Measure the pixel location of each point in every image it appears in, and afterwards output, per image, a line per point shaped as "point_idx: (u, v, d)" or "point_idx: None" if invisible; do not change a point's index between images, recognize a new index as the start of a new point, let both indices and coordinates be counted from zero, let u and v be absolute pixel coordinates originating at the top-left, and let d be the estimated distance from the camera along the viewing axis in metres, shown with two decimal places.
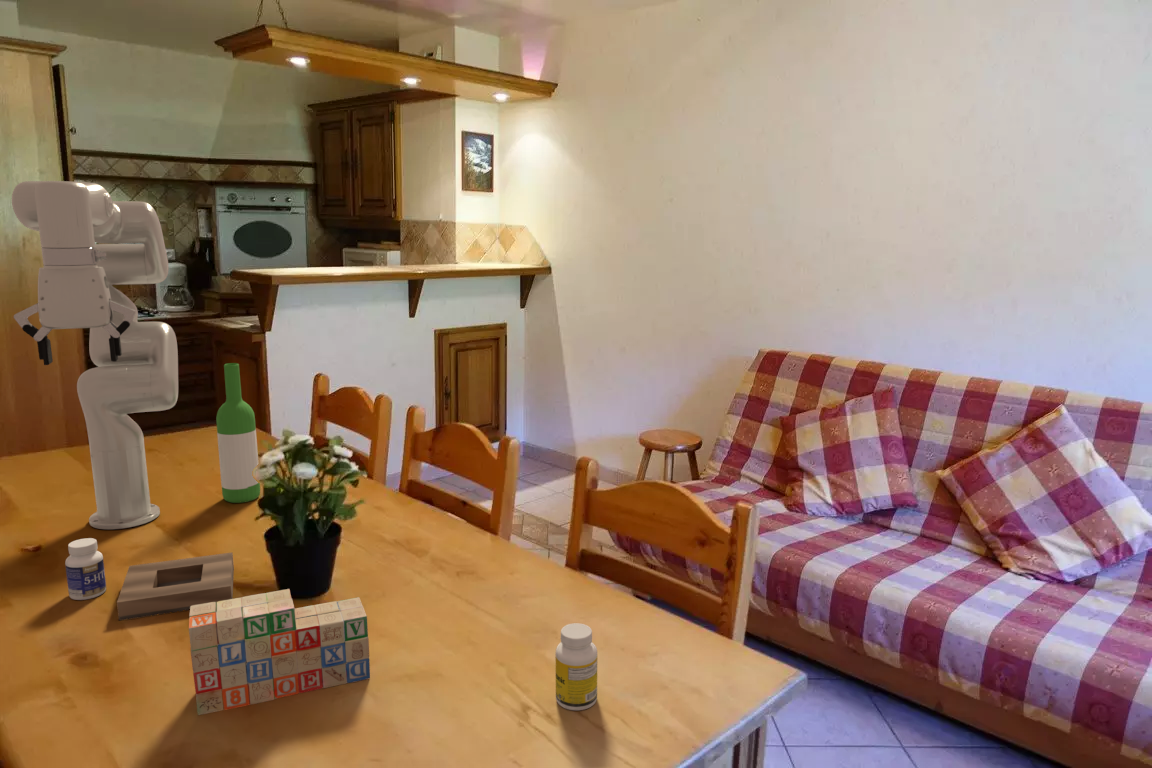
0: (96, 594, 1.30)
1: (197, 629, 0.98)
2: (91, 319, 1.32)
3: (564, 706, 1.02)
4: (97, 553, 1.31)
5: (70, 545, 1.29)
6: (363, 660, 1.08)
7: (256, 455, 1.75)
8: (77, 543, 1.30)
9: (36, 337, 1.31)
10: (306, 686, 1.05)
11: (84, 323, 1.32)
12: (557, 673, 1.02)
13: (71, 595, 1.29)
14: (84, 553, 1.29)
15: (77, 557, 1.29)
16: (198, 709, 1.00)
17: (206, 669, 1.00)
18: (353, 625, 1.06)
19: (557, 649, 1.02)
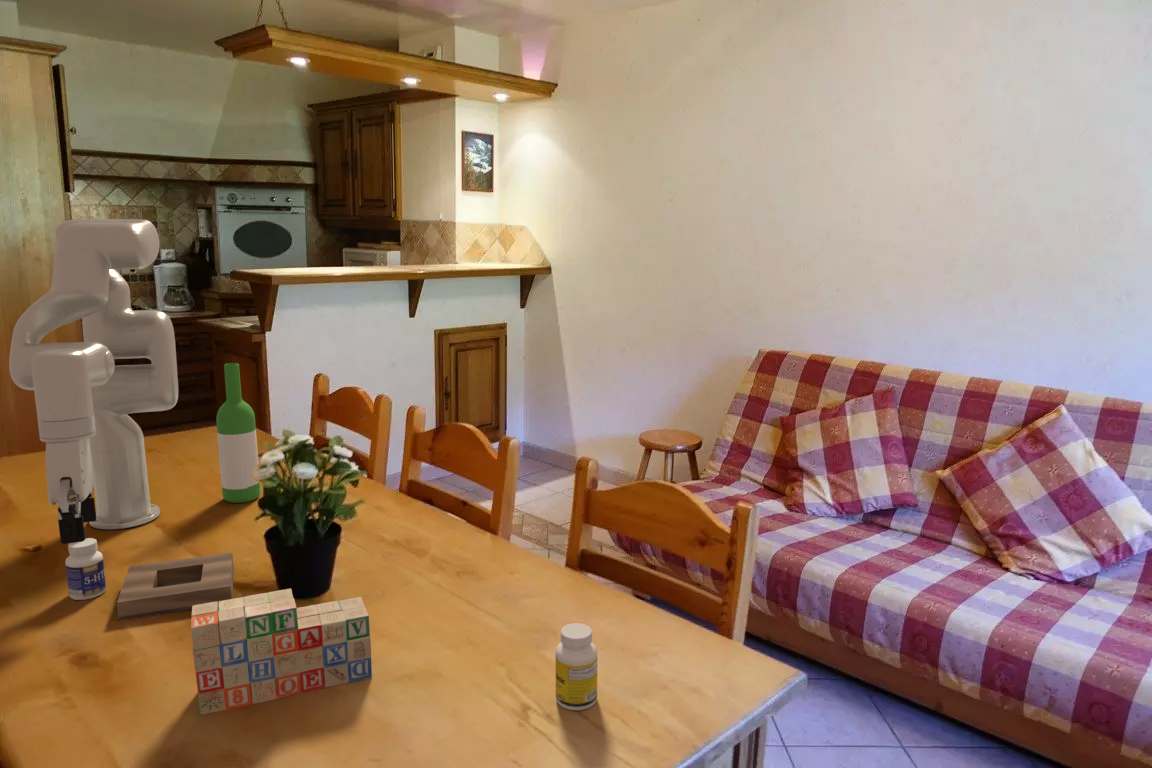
0: (96, 594, 1.30)
1: (199, 629, 0.98)
2: (92, 482, 1.31)
3: (564, 706, 1.02)
4: (97, 553, 1.31)
5: (70, 545, 1.29)
6: (365, 660, 1.08)
7: (256, 455, 1.75)
8: (77, 543, 1.30)
9: None
10: (308, 685, 1.05)
11: (91, 487, 1.30)
12: (557, 673, 1.02)
13: (71, 595, 1.29)
14: (84, 553, 1.29)
15: (77, 557, 1.29)
16: (200, 709, 1.00)
17: (209, 668, 1.00)
18: (355, 624, 1.06)
19: (557, 649, 1.02)
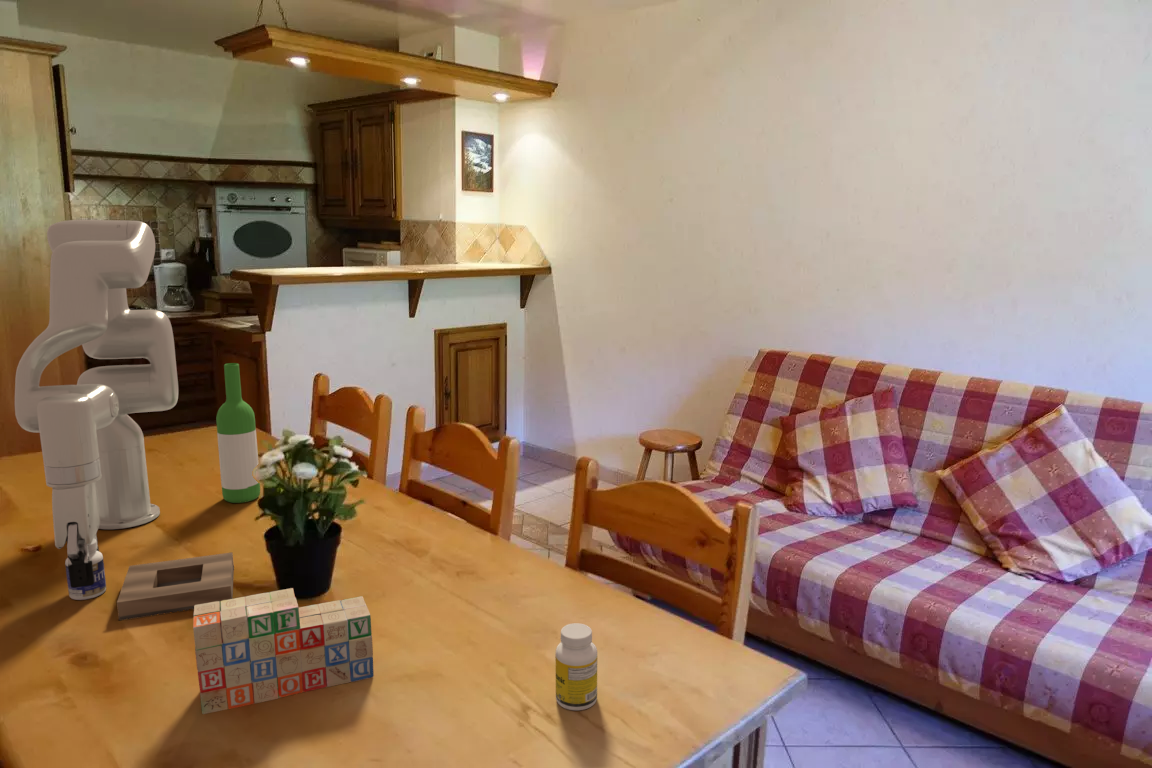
0: (96, 594, 1.30)
1: (201, 628, 0.98)
2: (98, 522, 1.33)
3: (564, 706, 1.02)
4: (97, 553, 1.31)
5: None
6: (367, 659, 1.08)
7: (256, 455, 1.75)
8: None
9: None
10: (310, 685, 1.05)
11: (97, 528, 1.32)
12: (557, 673, 1.02)
13: (71, 595, 1.29)
14: None
15: None
16: (202, 708, 1.00)
17: (211, 668, 1.00)
18: (357, 623, 1.07)
19: (557, 649, 1.02)
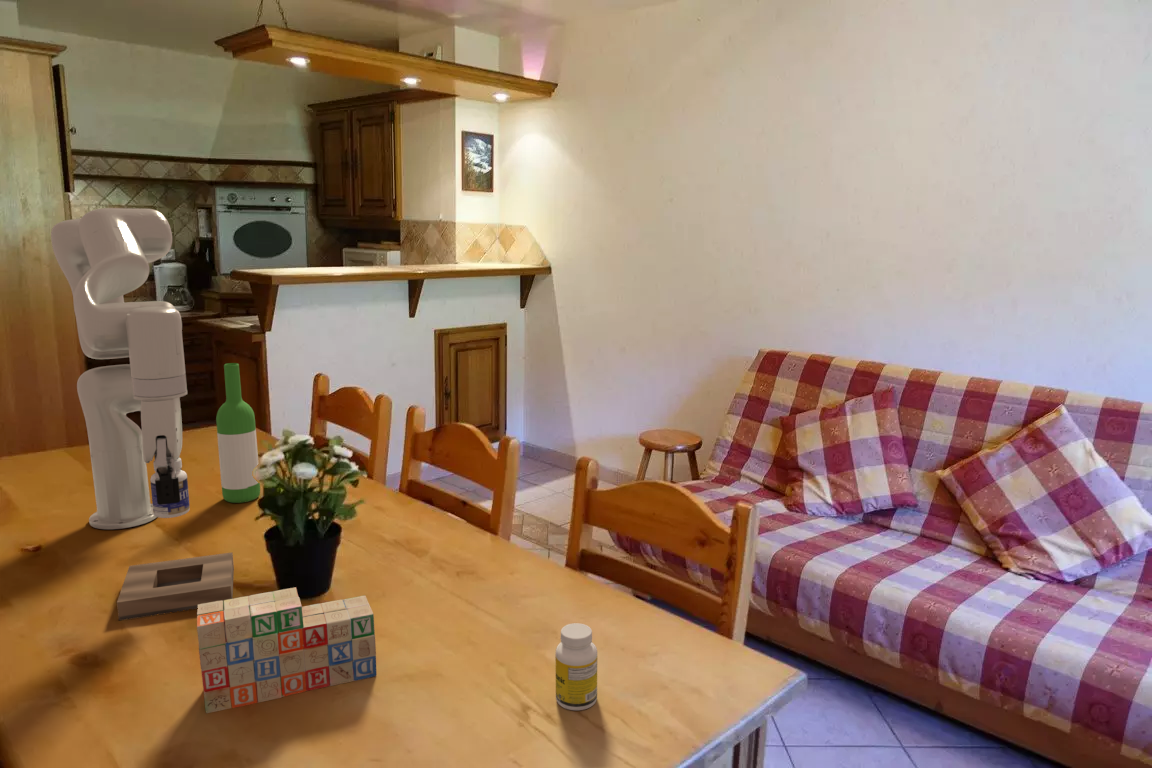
0: (181, 512, 1.28)
1: (205, 627, 0.98)
2: None
3: (564, 706, 1.02)
4: (182, 471, 1.29)
5: None
6: (370, 658, 1.08)
7: (256, 455, 1.75)
8: None
9: (174, 475, 1.25)
10: (313, 684, 1.06)
11: (181, 447, 1.29)
12: (557, 673, 1.02)
13: (157, 513, 1.27)
14: None
15: None
16: (206, 707, 1.01)
17: (214, 667, 1.00)
18: (360, 623, 1.07)
19: (557, 649, 1.02)
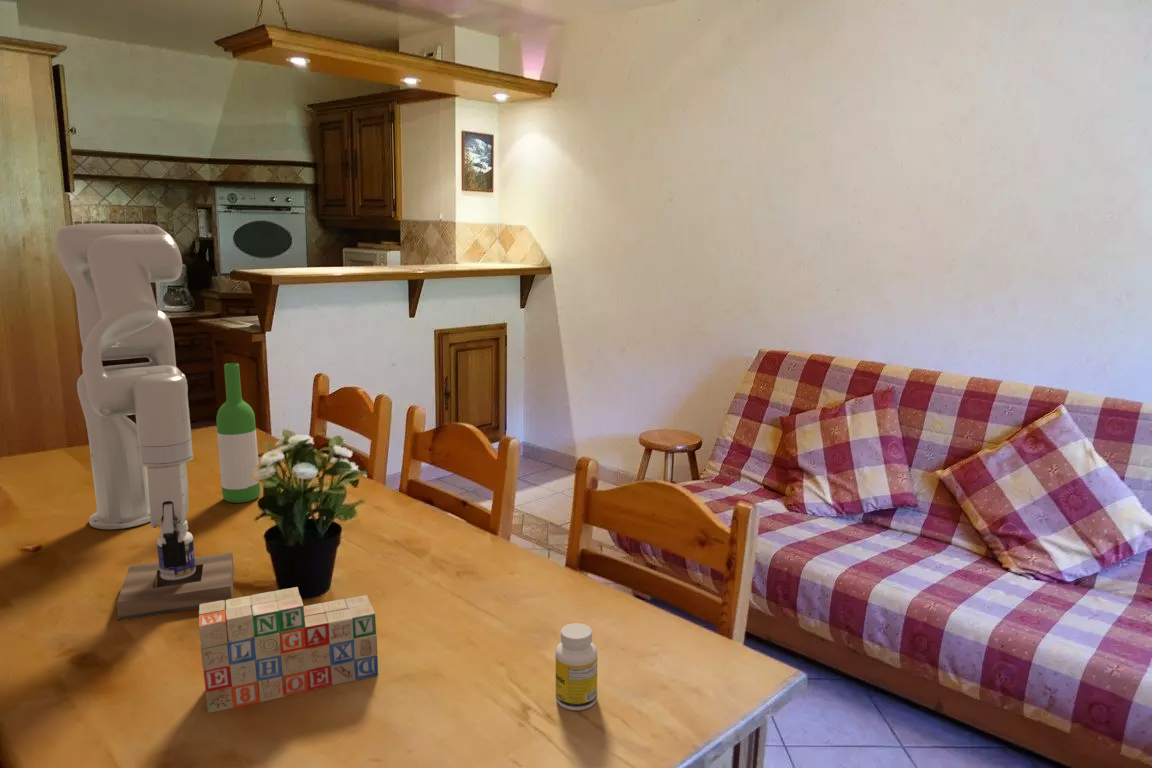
0: (187, 574, 1.30)
1: (207, 627, 0.99)
2: None
3: (564, 706, 1.02)
4: (188, 533, 1.31)
5: None
6: (372, 658, 1.08)
7: (256, 455, 1.75)
8: None
9: None
10: (315, 683, 1.06)
11: (187, 509, 1.32)
12: (557, 673, 1.02)
13: (163, 576, 1.29)
14: None
15: None
16: (208, 707, 1.01)
17: (216, 666, 1.00)
18: (361, 622, 1.07)
19: (557, 649, 1.02)
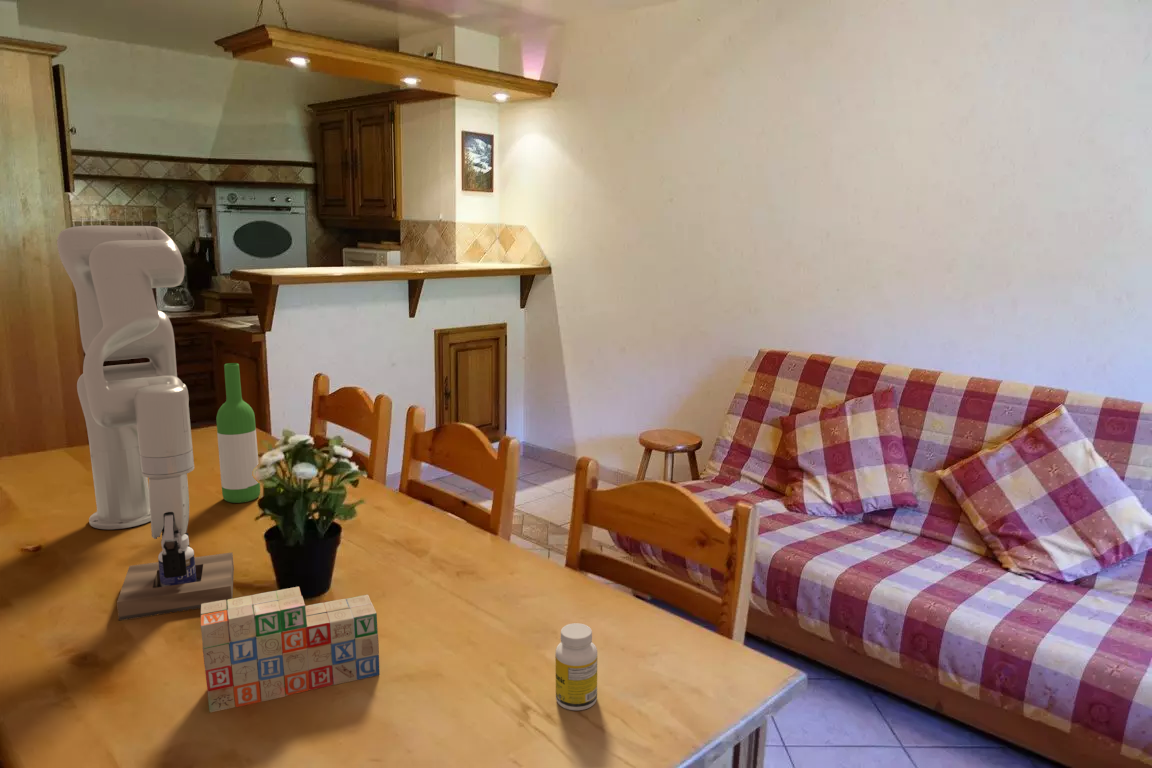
0: None
1: (209, 627, 0.99)
2: None
3: (564, 706, 1.02)
4: (189, 548, 1.32)
5: None
6: (373, 657, 1.08)
7: (256, 455, 1.75)
8: None
9: None
10: (316, 683, 1.06)
11: (188, 519, 1.32)
12: (557, 673, 1.02)
13: None
14: None
15: None
16: (210, 706, 1.01)
17: (218, 666, 1.00)
18: (363, 622, 1.07)
19: (557, 649, 1.02)
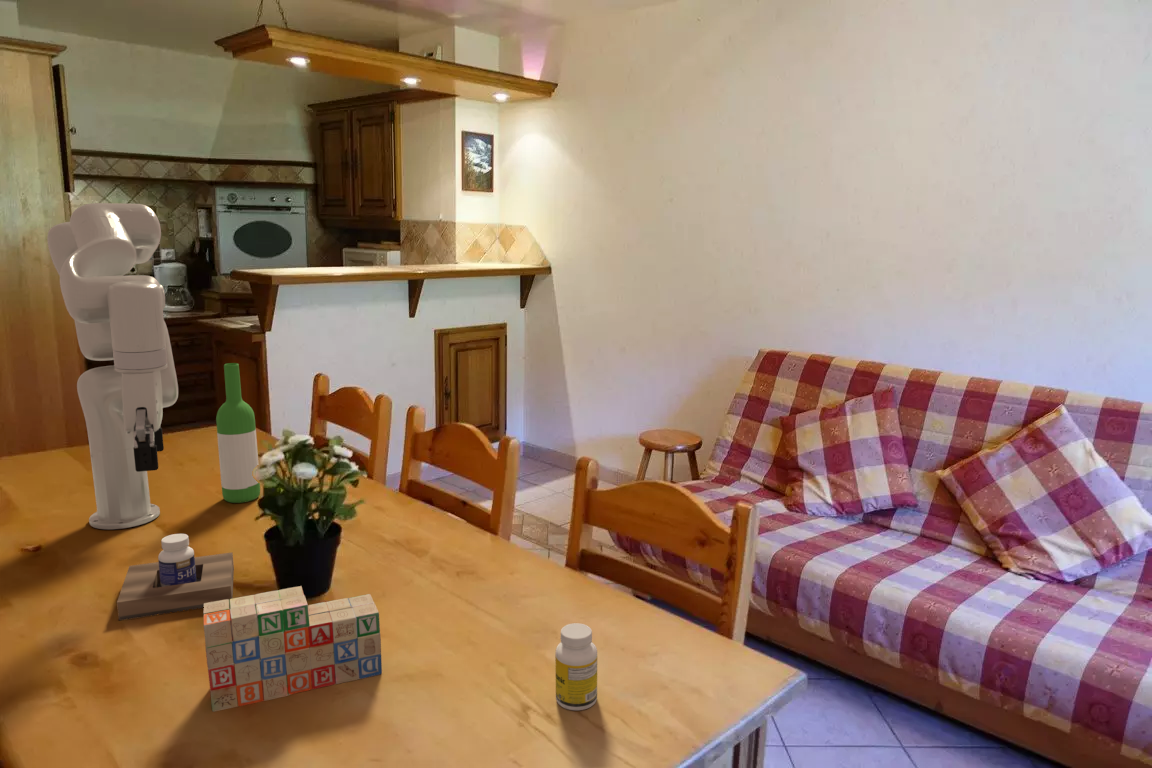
0: None
1: (212, 626, 0.99)
2: (162, 413, 1.34)
3: (564, 706, 1.02)
4: (189, 548, 1.32)
5: (163, 540, 1.30)
6: (375, 656, 1.09)
7: (256, 455, 1.75)
8: (169, 538, 1.31)
9: (152, 443, 1.27)
10: (319, 682, 1.06)
11: (161, 418, 1.33)
12: (557, 673, 1.02)
13: None
14: (177, 549, 1.29)
15: (170, 552, 1.29)
16: (213, 706, 1.01)
17: (221, 665, 1.00)
18: (365, 621, 1.07)
19: (557, 649, 1.02)
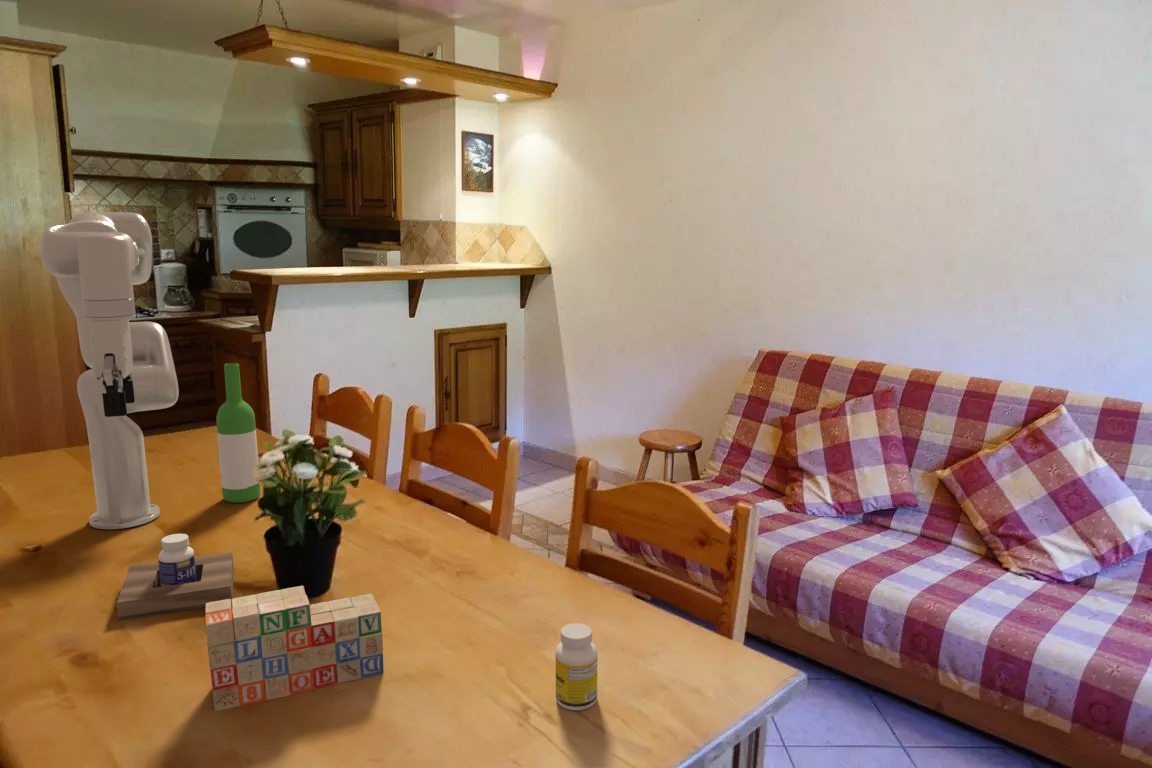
0: None
1: (214, 626, 0.99)
2: (132, 364, 1.39)
3: (564, 706, 1.02)
4: (189, 548, 1.32)
5: (163, 540, 1.30)
6: (377, 656, 1.09)
7: (256, 455, 1.75)
8: (169, 538, 1.31)
9: (120, 389, 1.32)
10: (321, 681, 1.06)
11: (131, 368, 1.38)
12: (557, 673, 1.02)
13: None
14: (177, 549, 1.29)
15: (170, 552, 1.29)
16: (215, 705, 1.01)
17: (223, 665, 1.00)
18: (367, 620, 1.07)
19: (557, 649, 1.02)
